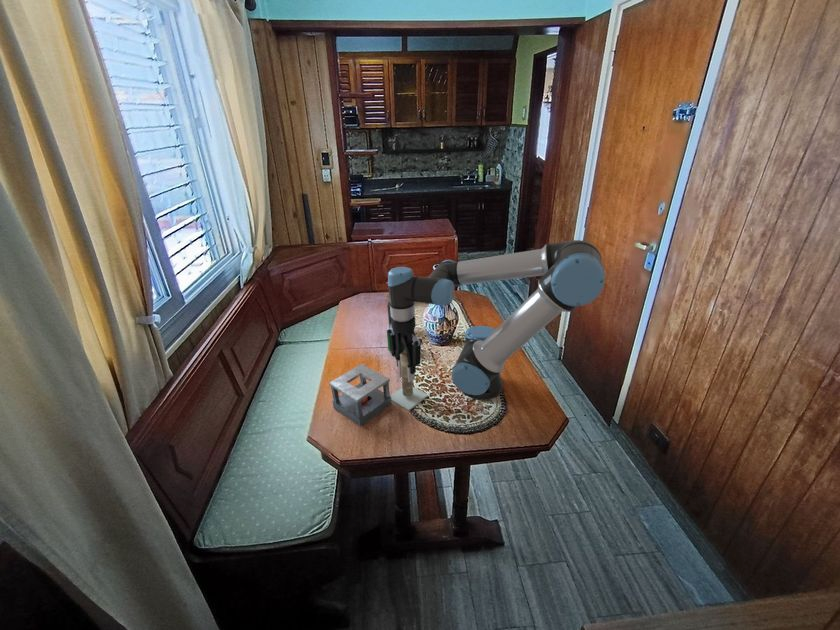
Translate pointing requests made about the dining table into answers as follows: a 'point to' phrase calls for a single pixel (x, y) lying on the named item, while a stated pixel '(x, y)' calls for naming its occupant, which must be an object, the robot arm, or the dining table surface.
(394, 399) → the coaster
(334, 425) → the dining table surface
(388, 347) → the soda can
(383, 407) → the grey open frame cage
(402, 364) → the dowel
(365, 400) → the plunger
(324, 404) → the dining table surface
